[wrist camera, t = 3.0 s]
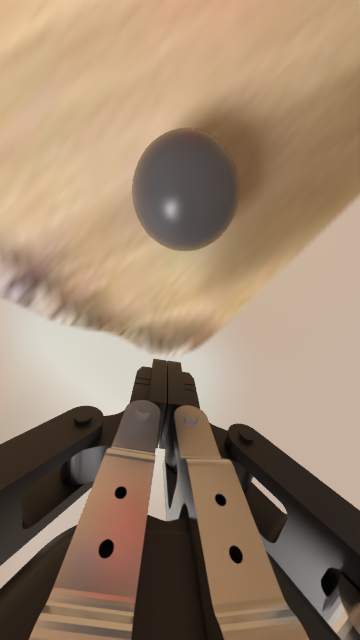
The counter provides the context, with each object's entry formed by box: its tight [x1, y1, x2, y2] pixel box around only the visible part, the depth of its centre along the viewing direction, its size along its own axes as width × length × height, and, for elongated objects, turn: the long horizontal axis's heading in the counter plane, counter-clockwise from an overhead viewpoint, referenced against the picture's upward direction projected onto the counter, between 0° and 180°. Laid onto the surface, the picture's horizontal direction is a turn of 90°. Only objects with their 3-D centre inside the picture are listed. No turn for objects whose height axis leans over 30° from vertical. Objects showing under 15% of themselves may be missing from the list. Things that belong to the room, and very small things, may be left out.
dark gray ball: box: [132, 128, 239, 251], centre depth 13 cm, size 6×6×6 cm
